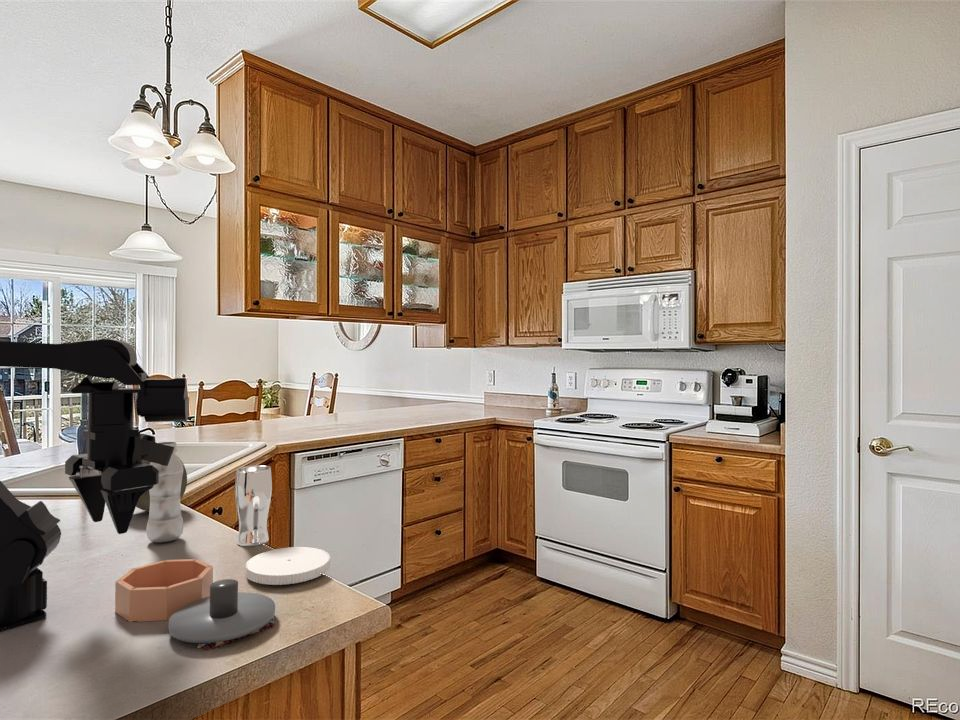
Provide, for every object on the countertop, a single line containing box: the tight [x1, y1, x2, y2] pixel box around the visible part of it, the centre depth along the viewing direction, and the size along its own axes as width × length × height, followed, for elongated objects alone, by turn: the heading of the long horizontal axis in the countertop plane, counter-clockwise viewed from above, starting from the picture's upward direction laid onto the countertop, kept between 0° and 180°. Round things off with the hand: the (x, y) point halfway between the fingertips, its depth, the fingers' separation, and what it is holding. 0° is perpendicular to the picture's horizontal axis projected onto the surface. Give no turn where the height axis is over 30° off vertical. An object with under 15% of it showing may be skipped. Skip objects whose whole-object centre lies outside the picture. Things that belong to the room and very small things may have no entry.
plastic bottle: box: [145, 441, 184, 543], centre depth 114 cm, size 6×7×20 cm
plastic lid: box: [245, 546, 331, 586], centre depth 99 cm, size 14×14×2 cm
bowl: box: [114, 558, 214, 623], centre depth 86 cm, size 12×12×4 cm
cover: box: [167, 578, 276, 644], centre depth 79 cm, size 14×14×5 cm
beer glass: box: [234, 465, 273, 548], centre depth 115 cm, size 7×7×15 cm
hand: (109, 527), depth 84 cm, fingers open, 9 cm apart
